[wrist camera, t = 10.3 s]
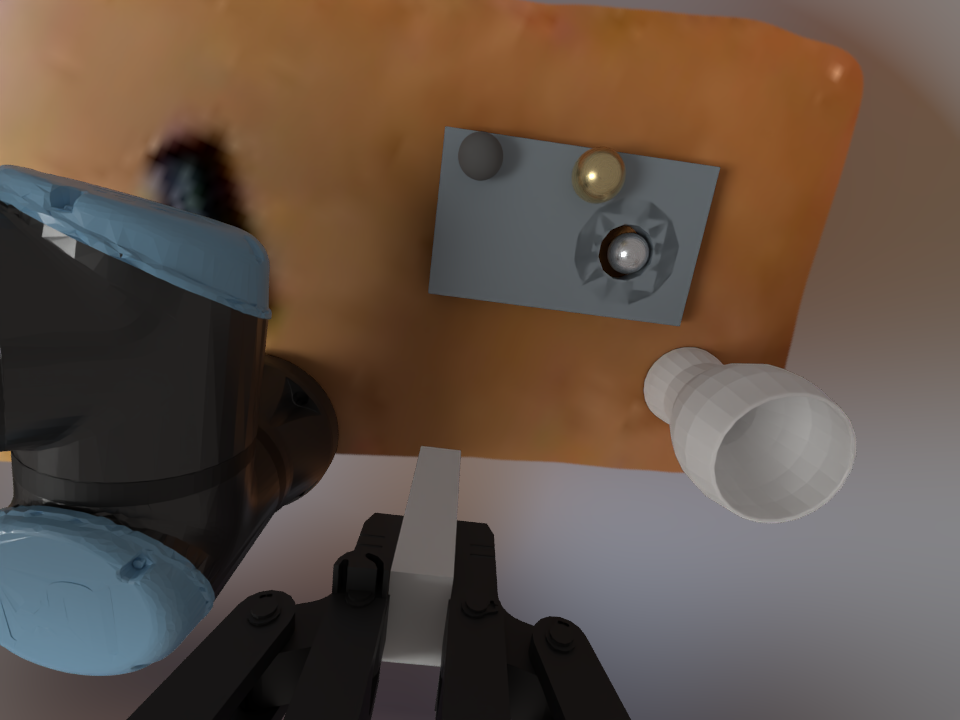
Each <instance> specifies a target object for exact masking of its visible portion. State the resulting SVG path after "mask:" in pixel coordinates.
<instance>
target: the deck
mask: <svg viewBox="0 0 960 720" xmlns="http://www.w3.org/2000/svg"><path fill="white" fill-rule="evenodd" d="M474 132H478V131H473V130H466V129H460V128H453V127H446V126H445V135H444V145H443V154H442V164H441V174H440V183H439V193H438V203H437V212H436V222H435V232H434V241H433V251H432V261H431V271H430V280H429V290H428V293H430V294H438V295H445V296H453V297H461V298H468V299H476V300H483V301H491V302H499V303H506V304H514V305H521V306H529V307H537V308H544V309H552V310H559V311H567V312H575V313H582V314H590V315H597V316H605V317H613V318H620V319H628V320H635V321H643V322H651V323H658V324H666V325H673V326H680V323H681V320H682V316H683V312H684V308H685V304H686V300H687V296H688V292H689V288H690V284H691V280H692V276H693V273H694V269H695V265H696V261H697V257H698V253H699V249H700V245H701V241H702V237H703V233H704V229H705V225H706V222H707V218H708V214H709V210H710V206H711V202H712V198H713V194H714V190H715V186H716V182H717V178H718V174H719V171H720V167H715V166H708V165H701V164H695V163H688V162H681V161H674V160H668V159H661V158H654V157H648V156H641V155H634V154H627V153H621V152H617V153H618V154H619V155H620V157H621V158H622V160H623V162H624V164H625V168H626V177H625V182H624V184H623V187H622V189H621V190H620V191H619V193H618V194H617V195H616V196H615V197H614V198H612V199H611V200H609V201H607V202H604V203H600V204H592V203H588V202H586V201H584V200H582V199H581V198H580V197H579V196H578V195H577V194H576V193H575V191H574V189H573V186H572V181H571V175H572V170H573V167H574V164H575V162H576V161H577V159H578V158H579V157H580V156H581V155H582V154H583V153H584V152H586V151H588V150H590V149H592V148H587V147H580V146H574V145H567V144H560V143H554V142H547V141H540V140H533V139H527V138H520V137H513V136H507V135H500V134H493V133H490V134H492V135H493V136H495V137H496V138H497V140H498V141H499V142H500V144H501V146H502V150H503V162H502V166H501V168H500V170H499V171H498V172H497V174H496V175H494V176H493V177H492V178H490V179H487V180H483V181H478V180H474V179H472V178H470V177H468V176H467V175H466V174H465V173H464V172H463V171H462V169H461V167H460V165H459V161H458V152H459V148H460V145H461V143H462V141H463V140H464V139H465V138H466V137H467V136H468V135H470V134H471V133H474ZM621 225H625V226H630V227H631V228H632V229H633V230H635V231H636V232H637V233H638V234H639V235H640V236H641V237H643V238H644V239H645V241H646V242H647V244H648V247H649V257H648V260H647V262H646V264H645V265H644V266H643V267H642V268H641V269H640V270H638V271H636V272H634V273H630V274H627V275H624V276H622V277H619V278H616V277H611V276H609V275H608V274H607V273H606V272H605V271H603V269H602V266H601V263H600V260H599V257H598V256H599V251H600V246H601V242H602V240H603V239H604V238H605V237H606V235H607V234H608V233H609V232H610V230H612V229H614V228H617V227H619V226H621Z"/></svg>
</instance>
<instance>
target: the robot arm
mask: <svg viewBox="0 0 960 720" xmlns="http://www.w3.org/2000/svg"><path fill="white" fill-rule="evenodd" d="M269 271H270V263H269V258H268V255H267V252H266V250H265V248H264V247H263V245H262V244H261V243H260V242H259V241H258V240H257V239H256V238H255V237H254V236H252V235H251V234H249V233H248V232H246V231H244V230H242V229H239V228H237V227H234V226H231V225H228V224H225V223H223V222H220V221H217V220H213V219H210V218H207V217H204V216H201V215H198V214H195V213H191V212H188V211H185V210H182V209H178V208H175V207H171V206H168V205H164V204H161V203H158V202H154V201H151V200H147V199H144V198H140V197H137V196H133V195H130V194H126V193H123V192H119V191H115V190H112V189H108V188H104V187H101V186H97V185H93V184H89V183H86V182H82V181H78V180H74V179H69V178H65V177H60V176H56V175H52V174H46V173H43V172H39V171H36V170H33V169H29V168H25V167H19V166H14V165H2V166H0V452H2V451H11V460H12V477H13V499H12V501H11V504H10V505H9V506H8V507H6V508H2V509H0V645H1V646H3V647H5V648H6V649H8V650H9V651H10V652H12V653H14V654H16V655H18V656H20V657H22V658H23V659H26V660H28V661H31V662H33V663H36V664H38V665H41V666H44V667H47V668H51V669H54V670H58V671H62V672H67V673H73V674H80V675H94V676H107V675H118V674H124V673H129V672H133V671H137V670H139V669H142V668H145V667H147V666H148V665H150V664H151V663H153V662H157V661H159V660H162V659H163V658H165V657H167V656H168V655H169V654H170V653H172V652H173V651H174V650H175V649H176V648H177V647H178V646H179V645H180V644H181V643H182V642H183V640H184V639H185V638H186V637H187V635H188V634H189V633H190V632H191V631H192V630H193V629H194V627H196V625H197V624H198V623H199V622H200V621H201V620H202V619H203V618H204V617H205V616H206V615H207V614H208V613H209V611H210V610H211V609H212V607H213V602H214V601H215V599H216V598H217V596H218V595H219V593H220V592H221V591H222V589H223V588H224V586H225V584H226V583H227V582H228V580H229V579H230V577H231V576H232V574H233V573H234V571H235V570H236V569H237V567H238V566H239V564H240V563H241V561H242V560H243V558H244V557H245V555H246V554H247V553H248V551H249V550H250V548H251V547H252V545H253V544H254V542H255V541H256V539H257V538H258V536H259V535H260V534H261V532H262V531H263V529H264V528H265V526H266V525H267V523H268V522H269V520H270V519H271V517H272V516H273V515H274V513H275V512H277V511H278V510H279V509H281V508H282V507H283V506H284V505H287V504H290V503H292V502H294V501H296V500H298V499H299V498H301V497H302V496H304V495H305V494H307V493H308V492H309V491H310V490H311V489H312V488H313V487H314V486H316V484H317V483H318V482H319V481H320V480H321V478H322V477H323V475H324V474H325V472H326V471H327V469H328V467H329V466H330V464H331V462H332V460H333V458H334V455H335V453H336V449H337V444H338V423H337V418H336V414H335V411H334V409H333V406H332V404H331V402H330V400H329V398H328V396H327V395H326V393H325V392H324V390H323V389H322V388H321V387H320V385H319V384H318V383H317V382H316V381H315V380H314V379H313V378H312V377H311V376H310V375H308V374H307V373H306V372H305V371H303V370H302V369H300V368H299V367H297V366H295V365H294V364H292V363H290V362H287V361H285V360H283V359H280V358H277V357H274V356H270V355H265V347H266V337H267V327H268V319H271V316H272V313H271V310H270V309H269ZM460 459H461V450H452V449H444V448H435V447H426V446H421V448H420V453H419V457H418V461H417V465H416V469H415V473H414V477H413V481H412V485H411V490H410V494H409V498H408V502H407V506H406V510H405V514H404V516H400V515H391V514H381V513H374V514H373V515H372V516H371V517H370V518H369V519H368V520H366V521H365V523H364V525H363V528H362V531H361V533H360V536H359V539H358V542H357V545H356V547H355V550H354V551H351V552H347V553H346V554H344V555H343V556H341V557H340V558H338V560H337V561H336V562H335V564H334V568H333V569H334V570H333V586H332V594H330V595H329V596H327V597H325V598H323V599H320V600H317V601H313V602H308V603H302V604H296V605H295V602H294V600H293V599H292V597H291V596H290V595H288V594H286V593H284V592H281V591H274V590H269V591H263V592H259V593H256V594H254V595H251V596H249V597H247V598H246V599H245V600H244V601H242V602H241V603H240V604H238V606H237V607H236V608H235V609H234V610H233V611H232V612H231V613H230V614H229V615H228V616H227V617H226V618H225V619H224V620H223V621H222V622H221V623H220V624H219V625H218V626H217V627H216V628H215V629H214V630H213V631H212V632H211V633H210V634H209V635H208V637H206V639H204V641H203V642H202V643H201V644H200V645H199V646H198V647H197V648H196V649H195V650H194V651H193V652H192V653H191V654H190V655H189V656H188V657H187V658H186V659H185V660H184V661H183V662H182V663H181V664H180V665H179V666H178V667H177V668H176V670H174V671H173V672H172V674H171V675H170V676H169V677H168V678H167V679H166V680H165V681H164V682H163V683H162V684H161V685H160V686H159V687H158V688H157V689H156V690H155V691H154V692H153V693H152V694H151V695H150V696H149V697H148V698H147V699H146V700H145V701H144V702H143V704H141V705H140V706H139V707H138V709H137V710H136V711H135V712H134V713H133V714H132V715H131V716H130V717H129V718H128V719H127V720H282V718H283V716H284V715H285V717H284V720H371V717H372V712H373V708H374V703H375V698H376V693H377V688H378V683H379V674H380V665H381V660H382V661H387V662H388V661H389V662H398V663H409V664H420V665H431V666H441V668H440V676H439V683H438V690H437V698H436V705H435V711H436V717H435V720H631V719H630V717H629V715H628V713H627V712H626V709H625V708H624V706H623V704H622V702H621V701H620V699H619V697H618V695H617V693H616V691H615V689H614V687H613V685H612V684H611V682H610V680H609V678H608V676H607V674H606V672H605V671H604V669H603V667H602V665H601V663H600V661H599V660H598V658H597V656H596V654H595V652H594V650H593V648H592V647H591V645H590V643H589V641H588V639H587V638H586V636H585V634H584V633H583V632H582V630H581V629H580V628H579V627H578V626H576V625H575V624H574V623H572V622H571V621H569V620H566V619H564V618H561V617H551V616H549V617H546V618H543V619H540V620H539V621H538V622H537V623H536V624H535V625H534V626H533V625H530V624H527V623H525V622H522V621H520V620H518V619H516V618H514V617H513V616H511V615H510V614H509V613H507V612H506V610H505V609H504V608H503V607H502V605H501V603H500V601H499V598H498V592H497V576H496V561H495V549H494V546H495V545H494V534H493V533H492V531H491V530H490V528H489V527H488V525H487V524H485V523H476V522H466V521H458V520H457V510H458V509H457V508H458V493H459V476H460ZM285 713H286V714H285Z"/></svg>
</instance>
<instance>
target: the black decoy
mask: <svg viewBox="0 0 960 720" xmlns="http://www.w3.org/2000/svg"><path fill="white" fill-rule="evenodd" d="M458 161H459V165H460V167H461V169H462V171H463V172H464V173H465V174H466V175H467V176H468V177H470V178H472V179H474V180H478V181H483V180H487V179H490V178H492V177H493V176H494V175H496V174H497V172H498V171H499V170H500V168H501V166H502V162H503V150H502V146H501V144H500V142H499V141H498V140H497V138H496V137H495V136H493V135H492V134H490V133H487V132H483V131H478V132H474V133H471V134H470V135H468V136H467V137H466V138H465V139H464V140H463V141H462V143H461V145H460V148H459V152H458Z"/></svg>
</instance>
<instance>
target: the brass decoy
mask: <svg viewBox="0 0 960 720" xmlns="http://www.w3.org/2000/svg"><path fill="white" fill-rule="evenodd" d="M625 177H626V168H625V164H624V162H623V160H622V158H621V157H620V155H619V154H618V153H617V152H615V151H614V150H612V149H610V148H606V147H596V148H592V149H590V150H588V151H586V152H584V153H583V154H582V155H581V156H580V157H579V158H578V159H577V161H576V162H575V164H574V167H573V170H572V175H571V181H572V186H573V189H574V191H575V193H576V194H577V195H578V196H579V197H580V198H581V199H582V200H584V201H586V202H588V203H592V204H600V203H604V202H607V201H609V200H611V199H612V198H614V197H615V196H616V195H617V194H618V193H619V191H620V190H621V189H622V187H623V184H624V182H625Z"/></svg>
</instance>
